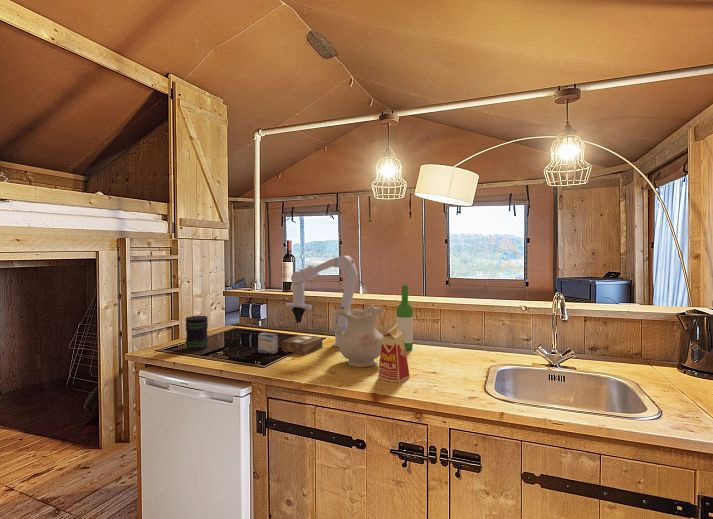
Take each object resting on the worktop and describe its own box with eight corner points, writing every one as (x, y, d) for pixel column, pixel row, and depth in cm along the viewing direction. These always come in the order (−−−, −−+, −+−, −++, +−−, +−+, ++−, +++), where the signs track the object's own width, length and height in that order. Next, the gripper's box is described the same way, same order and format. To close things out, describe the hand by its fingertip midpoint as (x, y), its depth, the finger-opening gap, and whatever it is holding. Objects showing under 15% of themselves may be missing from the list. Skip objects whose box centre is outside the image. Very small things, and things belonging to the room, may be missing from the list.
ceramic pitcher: (347, 376, 155) (351, 313, 152) (323, 360, 171) (325, 302, 169) (392, 367, 167) (395, 308, 164) (365, 353, 183) (368, 299, 181)
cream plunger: (312, 347, 194) (312, 337, 194) (308, 349, 191) (308, 339, 191) (306, 346, 196) (305, 336, 196) (301, 348, 193) (301, 338, 193)
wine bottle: (395, 346, 197) (396, 284, 196) (411, 346, 197) (412, 285, 196) (396, 350, 189) (397, 286, 188) (413, 350, 189) (413, 286, 188)
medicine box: (258, 352, 185) (257, 334, 185) (263, 350, 189) (262, 332, 189) (273, 354, 183) (273, 335, 182) (278, 351, 187) (278, 333, 187)
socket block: (322, 348, 194) (322, 337, 193) (305, 355, 181) (305, 344, 181) (300, 344, 200) (300, 334, 199) (282, 351, 187) (282, 340, 187)
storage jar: (185, 347, 195) (185, 316, 194) (207, 345, 199) (206, 315, 198) (186, 352, 186) (185, 320, 185) (209, 350, 190) (208, 318, 189)
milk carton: (390, 372, 157) (390, 321, 156) (410, 377, 151) (411, 324, 150) (376, 378, 150) (376, 325, 149) (397, 384, 144) (397, 328, 143)
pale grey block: (304, 351, 188) (304, 340, 188) (299, 353, 185) (298, 342, 184) (297, 350, 190) (297, 339, 190) (291, 352, 186) (291, 341, 186)
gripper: (282, 295, 203) (282, 322, 203) (305, 297, 196) (305, 325, 196) (290, 293, 209) (290, 320, 209) (314, 295, 202) (314, 322, 203)
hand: (298, 322), depth 203 cm, fingers closed
